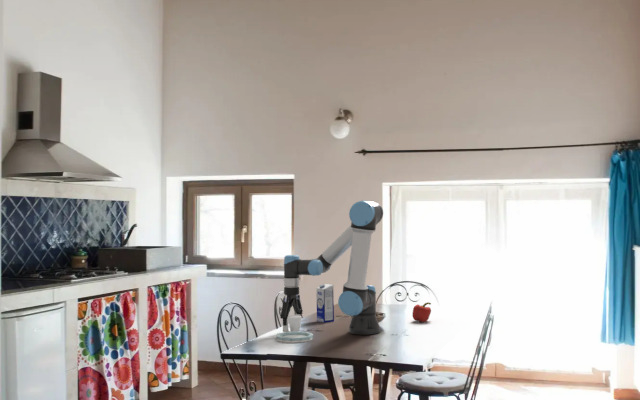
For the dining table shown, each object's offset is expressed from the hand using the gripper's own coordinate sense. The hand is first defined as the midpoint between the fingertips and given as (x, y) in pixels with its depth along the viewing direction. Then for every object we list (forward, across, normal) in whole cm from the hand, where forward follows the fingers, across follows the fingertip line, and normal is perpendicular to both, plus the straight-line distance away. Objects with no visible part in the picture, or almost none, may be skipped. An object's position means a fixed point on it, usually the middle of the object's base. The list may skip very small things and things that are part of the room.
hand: (291, 329), depth 319 cm
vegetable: (+1, -52, +52) cm, 74 cm away
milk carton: (+2, -37, +2) cm, 37 cm away
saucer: (+1, +14, +8) cm, 16 cm away
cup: (+2, 0, 0) cm, 2 cm away
